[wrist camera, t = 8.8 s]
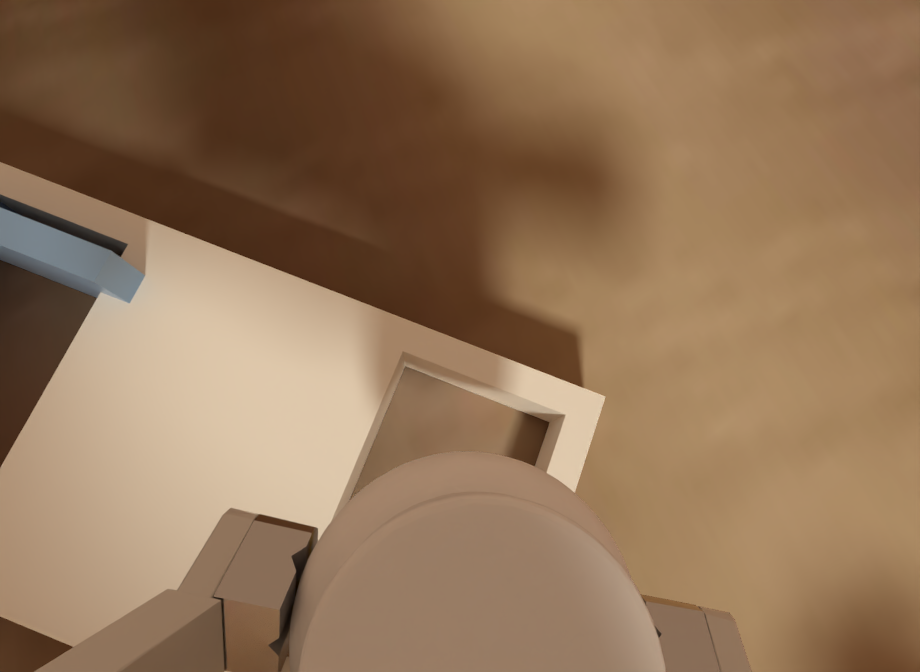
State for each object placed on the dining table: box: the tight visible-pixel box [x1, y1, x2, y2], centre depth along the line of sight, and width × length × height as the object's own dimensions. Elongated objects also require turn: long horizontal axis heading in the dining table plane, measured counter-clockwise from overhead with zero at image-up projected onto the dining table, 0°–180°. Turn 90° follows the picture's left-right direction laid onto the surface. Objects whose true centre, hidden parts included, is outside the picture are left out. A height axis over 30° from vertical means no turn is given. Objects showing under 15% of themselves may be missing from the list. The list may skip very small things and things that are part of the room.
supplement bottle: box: [289, 451, 666, 672], centre depth 11 cm, size 5×5×10 cm
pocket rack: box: [0, 162, 605, 672], centre depth 22 cm, size 14×27×6 cm, turn 69°
